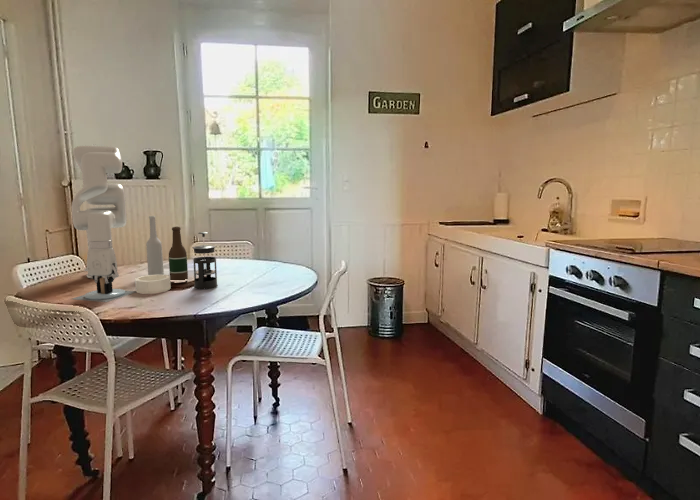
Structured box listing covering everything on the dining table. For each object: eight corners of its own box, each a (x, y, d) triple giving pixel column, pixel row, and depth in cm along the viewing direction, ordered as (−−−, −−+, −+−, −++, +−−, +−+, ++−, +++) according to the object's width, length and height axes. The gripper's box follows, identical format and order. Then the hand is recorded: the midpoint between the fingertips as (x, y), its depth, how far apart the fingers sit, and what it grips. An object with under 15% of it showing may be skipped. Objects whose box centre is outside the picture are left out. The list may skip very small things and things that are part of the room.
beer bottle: (191, 279, 201) (188, 226, 198) (183, 283, 194) (180, 228, 190) (175, 279, 202) (171, 226, 198) (166, 283, 195) (162, 227, 191)
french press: (198, 283, 194) (196, 230, 190) (220, 283, 194) (218, 230, 190) (189, 290, 182) (186, 234, 178) (213, 290, 182) (210, 233, 179)
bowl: (129, 294, 176) (128, 280, 175) (150, 286, 188) (149, 273, 187) (156, 296, 173) (155, 282, 172) (176, 288, 185) (175, 275, 184)
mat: (70, 300, 167) (70, 298, 167) (104, 290, 182) (104, 288, 182) (106, 303, 163) (106, 302, 162) (137, 293, 178) (137, 291, 178)
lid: (75, 298, 167) (74, 280, 166) (104, 289, 180) (102, 273, 179) (106, 300, 164) (104, 282, 163) (133, 292, 177) (131, 275, 176)
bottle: (145, 278, 204) (140, 216, 199) (156, 275, 210) (152, 215, 206) (156, 279, 201) (152, 217, 197) (167, 276, 208) (163, 215, 203)
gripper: (75, 245, 168) (79, 293, 171) (111, 247, 163) (115, 296, 166) (91, 242, 175) (95, 289, 178) (126, 244, 171) (130, 291, 173)
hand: (105, 292), depth 172 cm, fingers closed on lid, 2 cm apart
